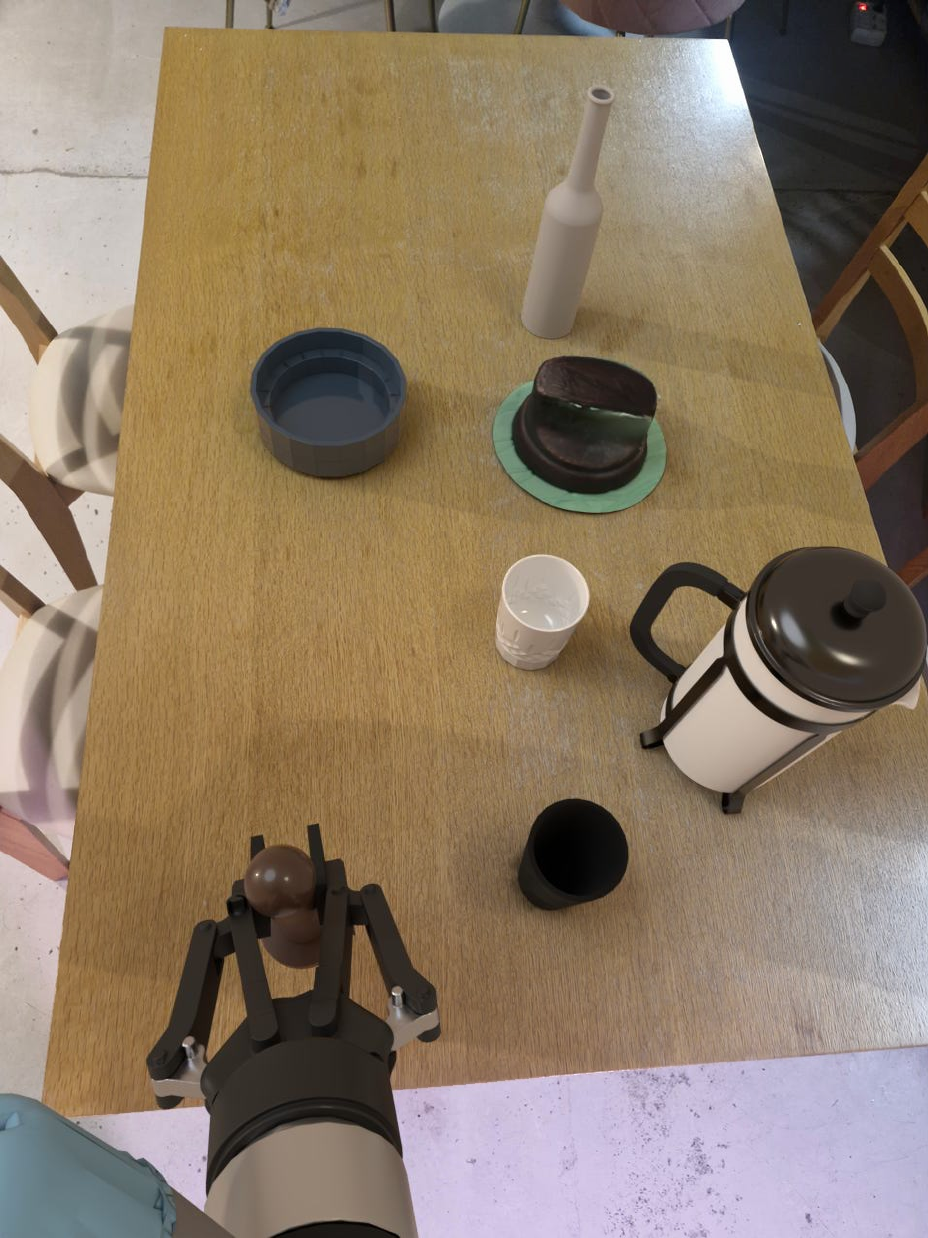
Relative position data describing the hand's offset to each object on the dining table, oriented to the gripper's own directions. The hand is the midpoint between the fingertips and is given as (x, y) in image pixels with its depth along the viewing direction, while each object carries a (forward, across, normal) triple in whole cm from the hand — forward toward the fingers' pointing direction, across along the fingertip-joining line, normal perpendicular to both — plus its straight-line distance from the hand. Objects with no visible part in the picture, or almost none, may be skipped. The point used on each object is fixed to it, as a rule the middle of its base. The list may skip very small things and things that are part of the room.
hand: (288, 848), depth 54 cm
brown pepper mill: (+2, 0, -7) cm, 7 cm away
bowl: (+49, +10, +22) cm, 55 cm away
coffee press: (+19, +39, -9) cm, 44 cm away
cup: (+12, +20, -16) cm, 29 cm away
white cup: (+28, +25, 0) cm, 38 cm away
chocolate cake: (+45, +37, +17) cm, 60 cm away
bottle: (+58, +38, +30) cm, 76 cm away
